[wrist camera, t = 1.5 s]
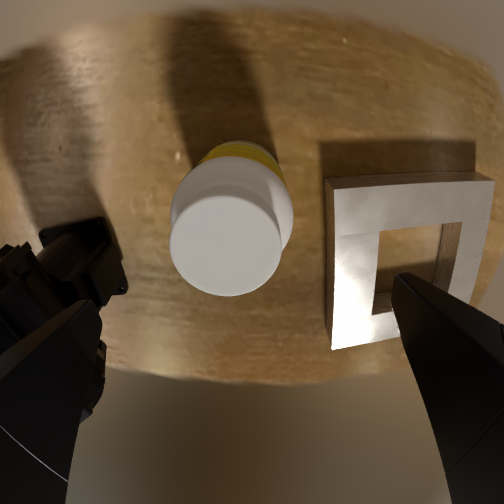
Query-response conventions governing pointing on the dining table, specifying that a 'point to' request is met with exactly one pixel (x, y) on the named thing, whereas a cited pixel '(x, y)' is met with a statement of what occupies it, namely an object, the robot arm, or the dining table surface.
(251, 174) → the supplement bottle
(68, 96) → the dining table surface
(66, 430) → the robot arm
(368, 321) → the frame
